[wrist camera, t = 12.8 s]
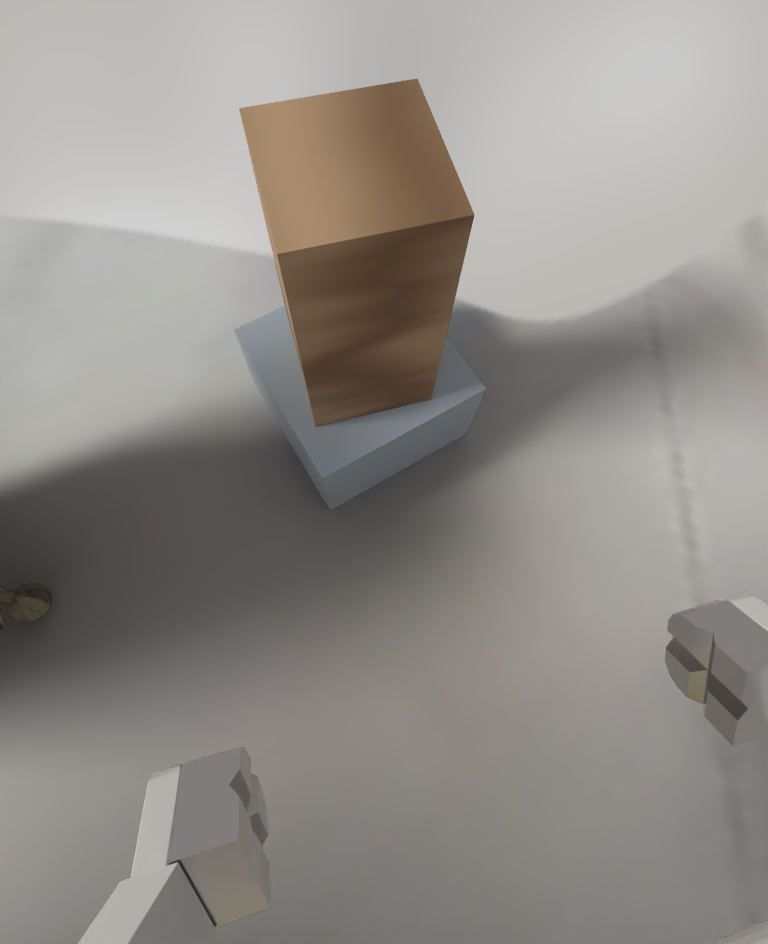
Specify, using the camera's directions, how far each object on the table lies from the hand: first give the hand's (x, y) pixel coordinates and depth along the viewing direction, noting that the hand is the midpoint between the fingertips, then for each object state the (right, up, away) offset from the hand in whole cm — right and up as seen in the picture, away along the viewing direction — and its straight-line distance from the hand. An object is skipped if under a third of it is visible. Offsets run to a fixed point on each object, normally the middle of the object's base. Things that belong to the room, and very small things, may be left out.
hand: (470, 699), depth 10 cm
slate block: (-3, +7, +18) cm, 20 cm away
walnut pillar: (-3, +9, +14) cm, 16 cm away
